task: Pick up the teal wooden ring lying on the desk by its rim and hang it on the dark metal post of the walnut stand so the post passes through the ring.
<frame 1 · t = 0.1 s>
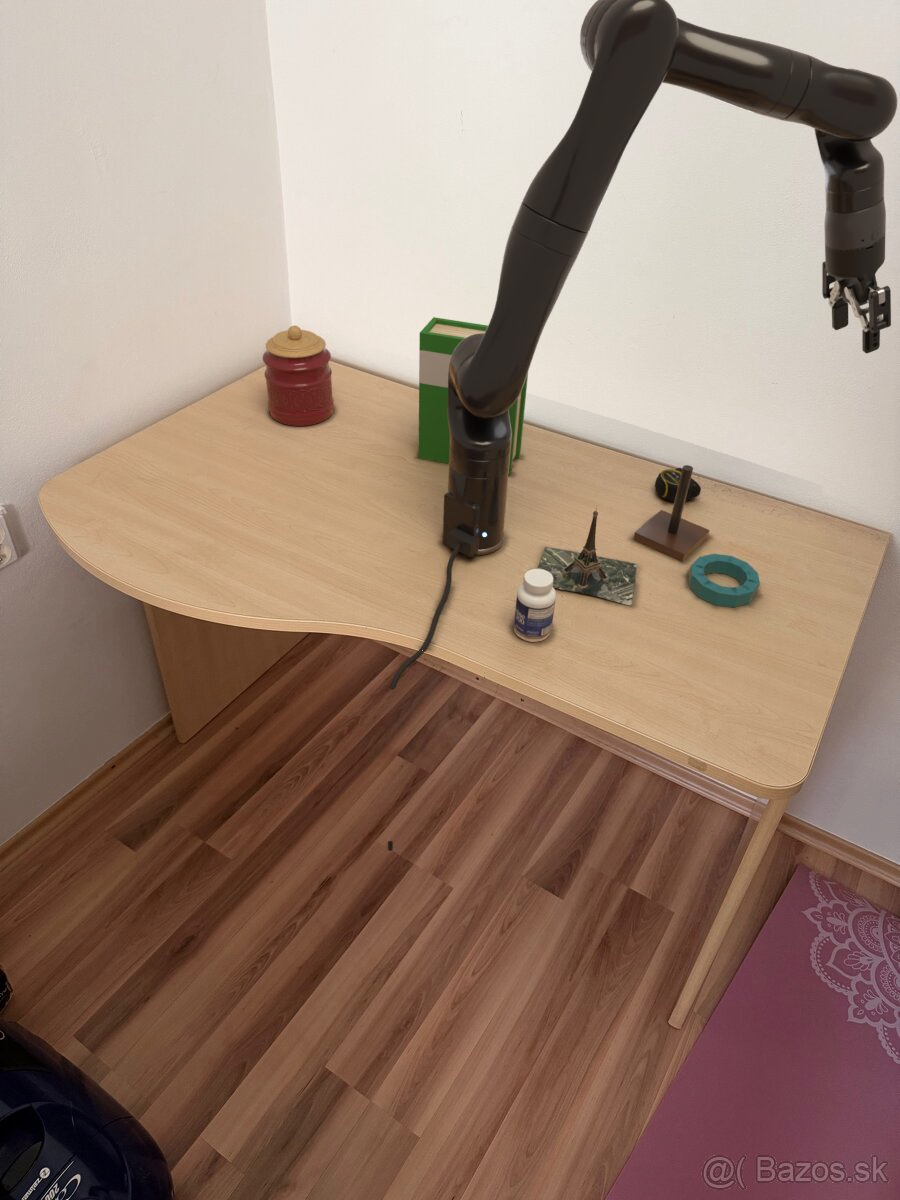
hand: (855, 338, 125), 31 cm above the table, tool tilted 20°, fingers open, 8 cm apart
stand: (670, 538, 138), on the table
pill bottle: (531, 631, 120), on the table
tape measure: (675, 494, 149), on the table
ring: (721, 585, 129), on the table
hardback book: (469, 458, 157), on the table
eiffel tower figurine: (586, 577, 130), on the table
kitchen canister: (301, 412, 168), on the table
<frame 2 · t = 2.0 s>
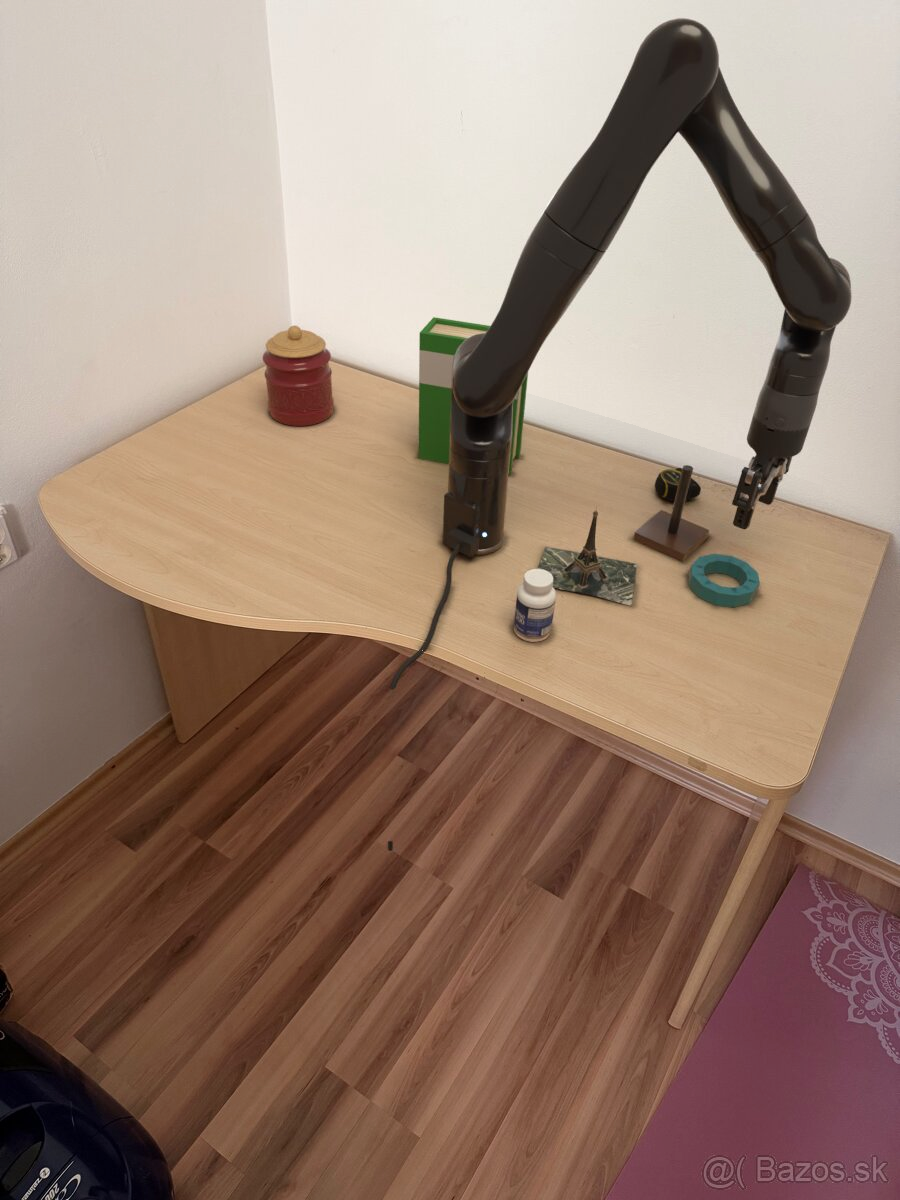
hand: (752, 514, 124), 11 cm above the table, tool pointing down, fingers open, 8 cm apart
nothing on the table moved.
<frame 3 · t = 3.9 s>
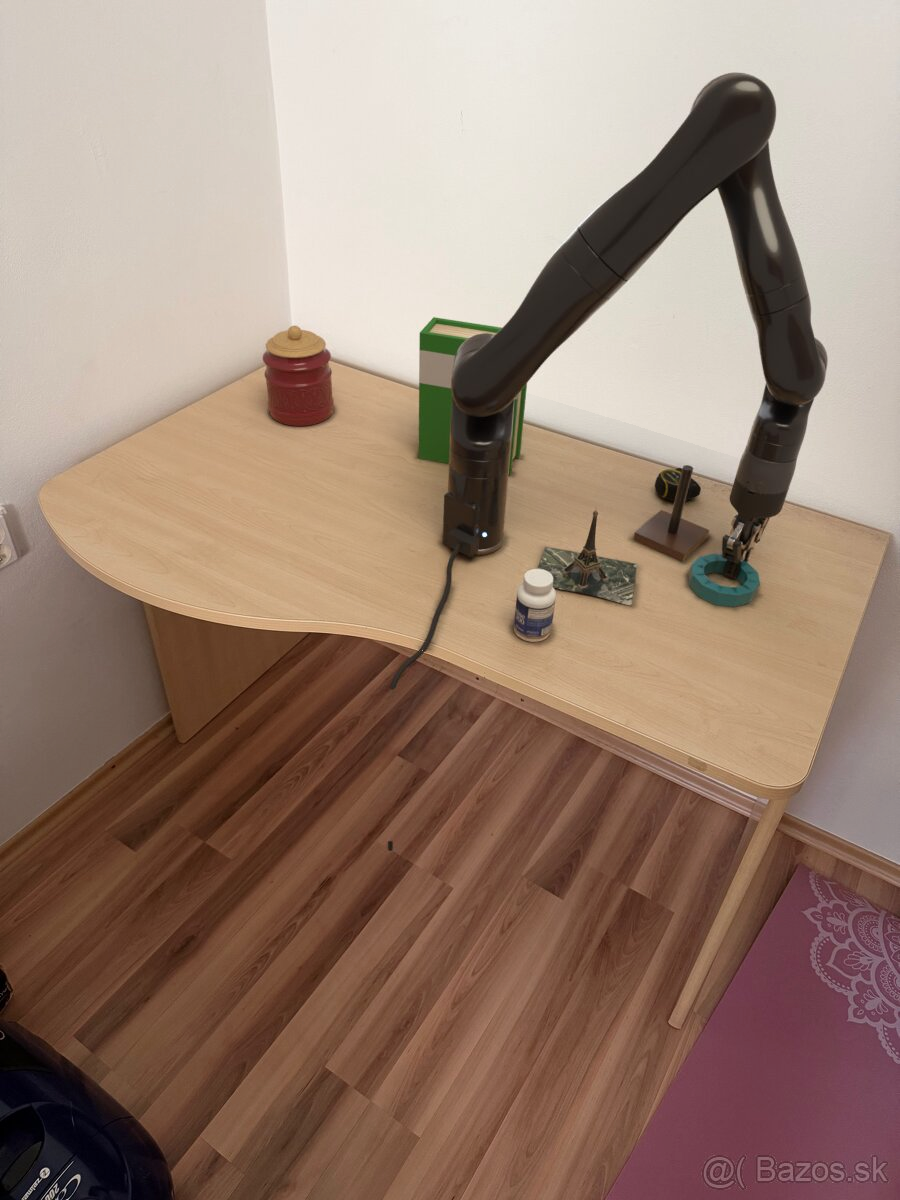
hand: (733, 572, 131), 0 cm above the table, tool pointing down, fingers closed on ring, 2 cm apart
ring: (721, 585, 129), on the table, touching gripper
everything else where it was.
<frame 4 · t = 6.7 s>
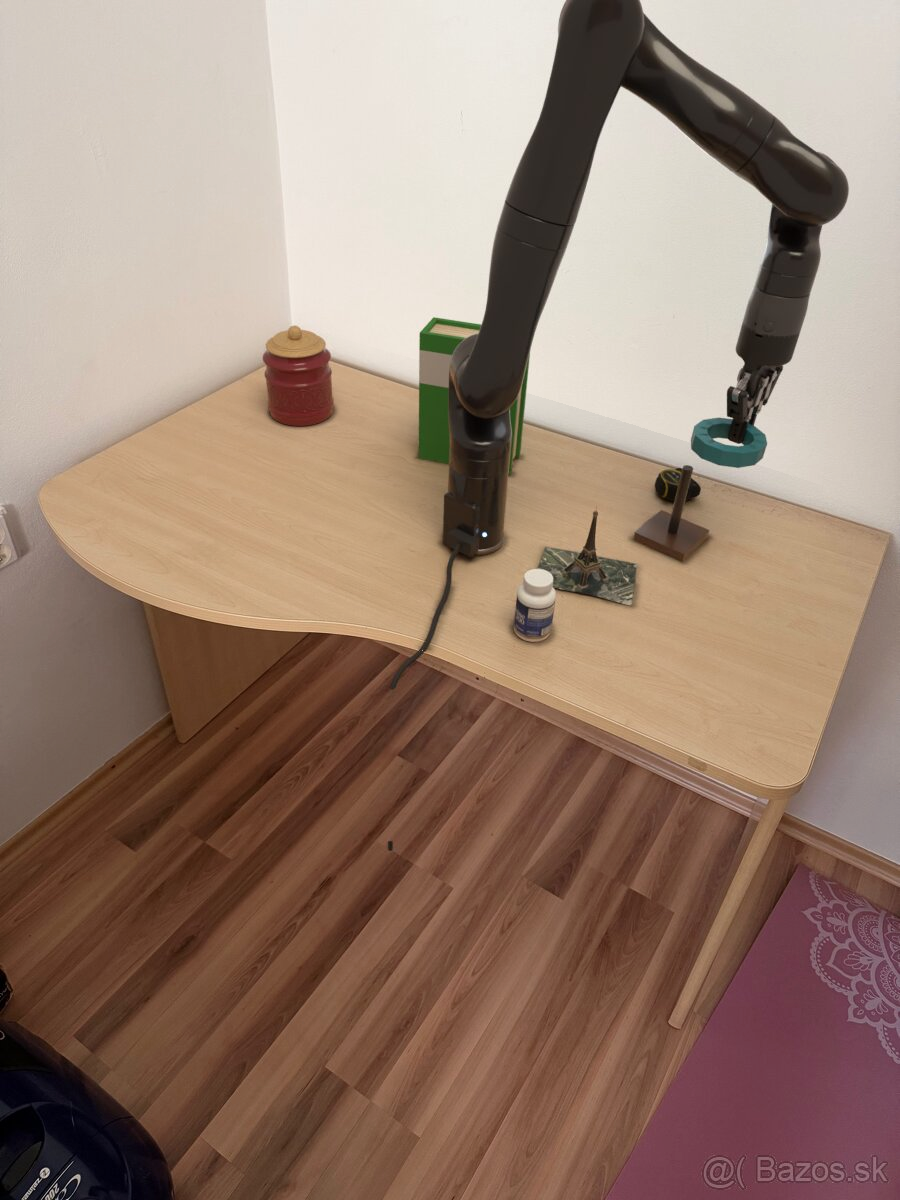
hand: (738, 437, 123), 21 cm above the table, tool pointing down, fingers closed on ring
ring: (726, 449, 120), point 20 cm above the table, touching gripper
everything else where it was.
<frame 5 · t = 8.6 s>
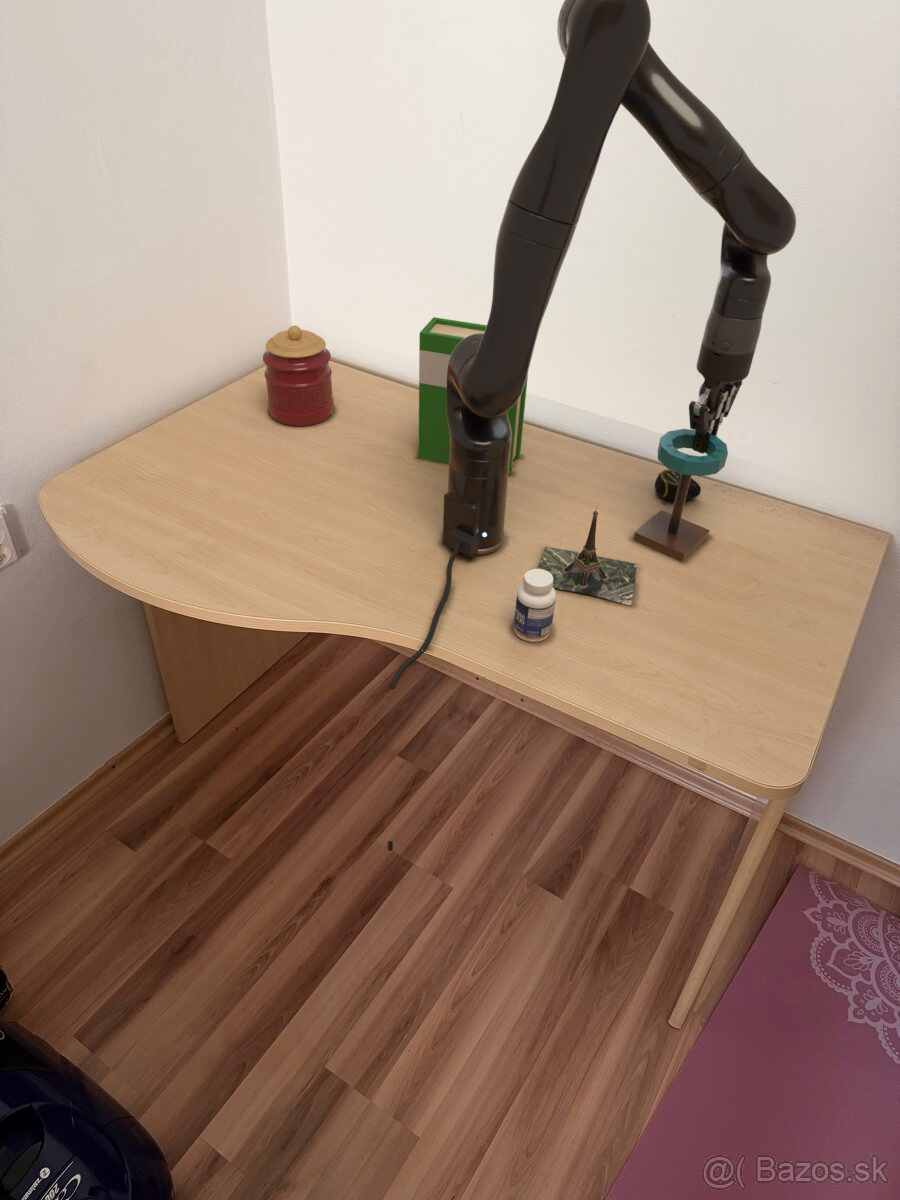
hand: (702, 447, 131), 15 cm above the table, tool pointing down, fingers closed on ring
ring: (690, 458, 129), point 15 cm above the table, touching gripper
everything else where it was.
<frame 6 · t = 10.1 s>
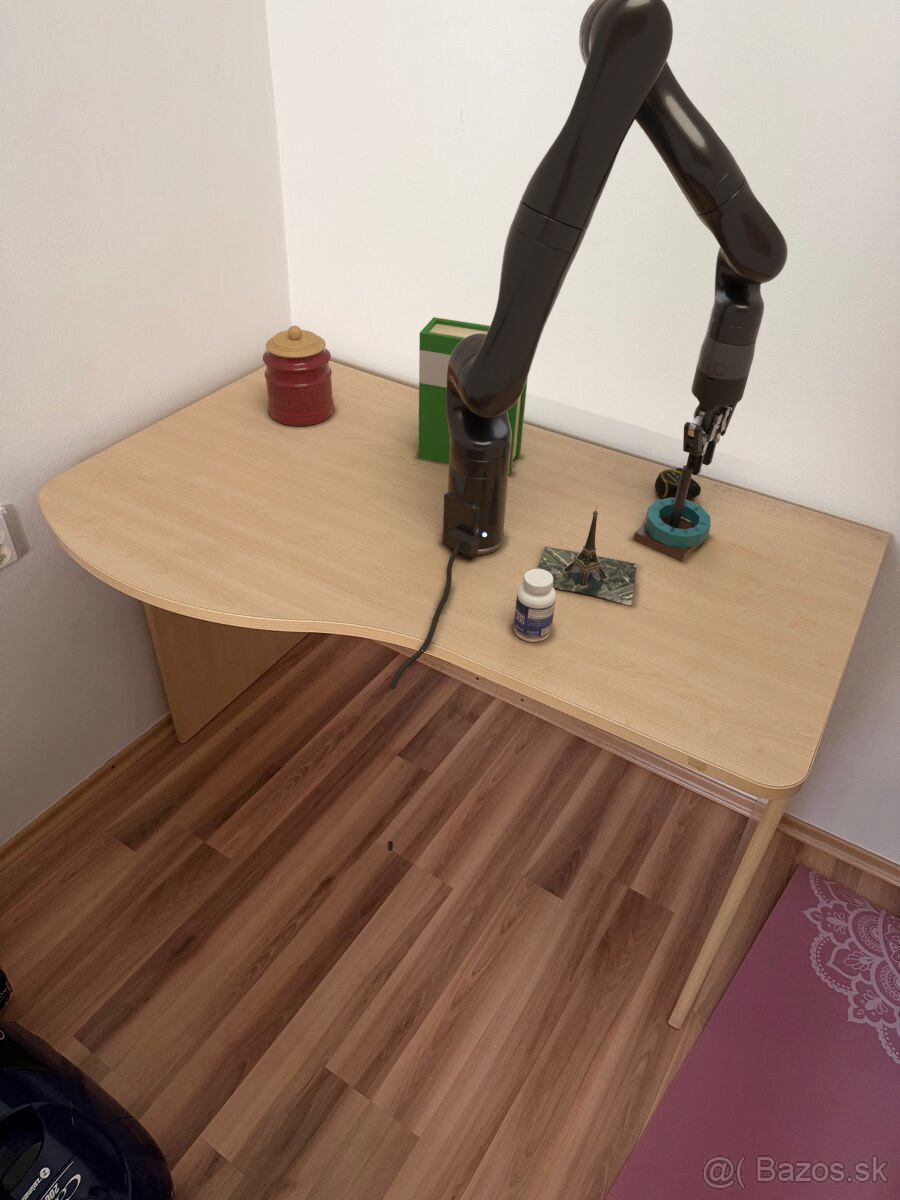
hand: (697, 467, 133), 12 cm above the table, tool pointing down, fingers open, 3 cm apart
ring: (675, 527, 138), point 2 cm above the table, touching stand
everything else where it was.
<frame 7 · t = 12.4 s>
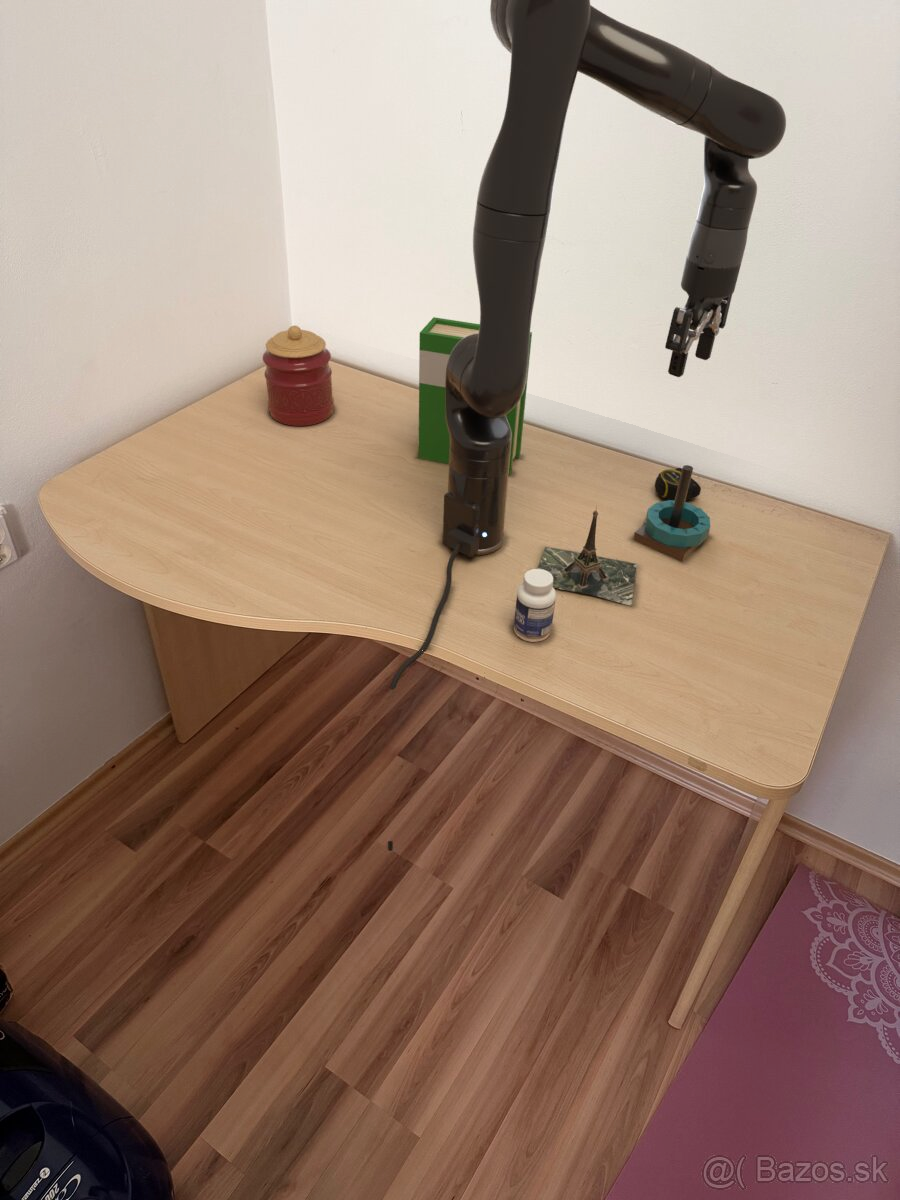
hand: (688, 366, 127), 27 cm above the table, tool pointing down, fingers open, 8 cm apart
nothing on the table moved.
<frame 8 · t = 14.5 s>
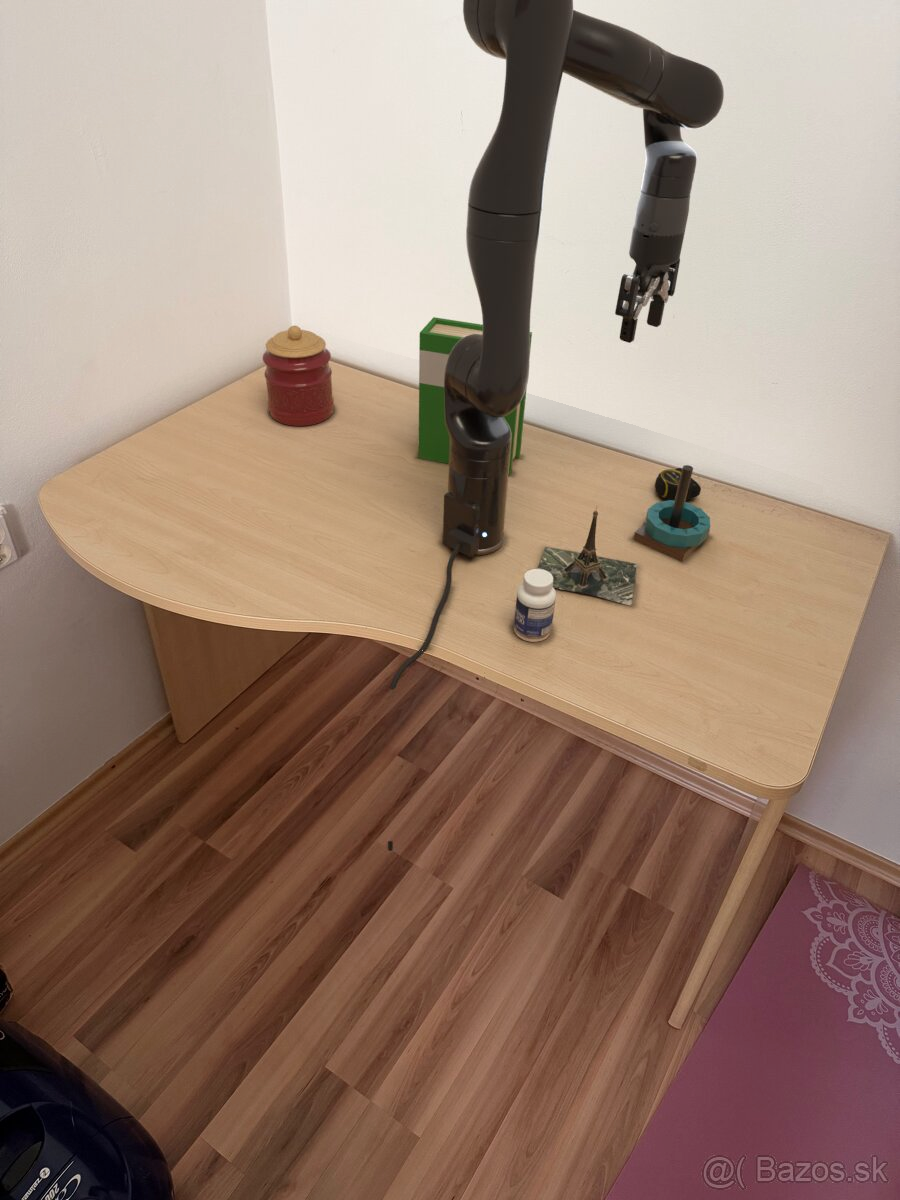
hand: (640, 333, 133), 28 cm above the table, tool pointing down, fingers open, 8 cm apart
nothing on the table moved.
at the end: ring 0.8 cm from the stand (horizontally); ring point 1.5 cm above the table; the gripper is holding nothing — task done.
